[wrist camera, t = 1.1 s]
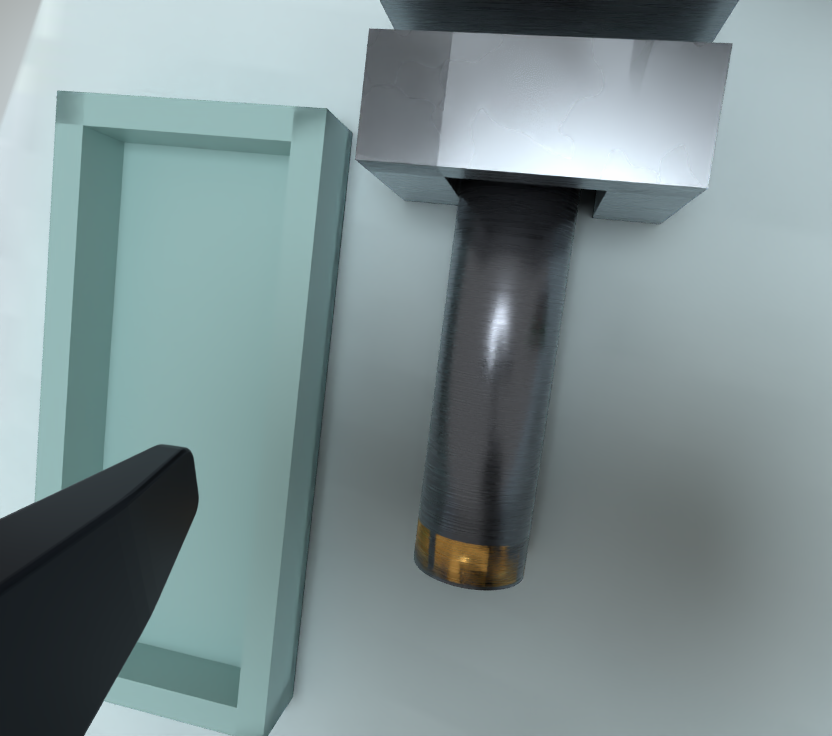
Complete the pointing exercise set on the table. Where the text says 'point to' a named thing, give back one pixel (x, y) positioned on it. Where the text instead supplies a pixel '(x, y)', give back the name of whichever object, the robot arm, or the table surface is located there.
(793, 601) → the table surface
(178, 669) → the tray
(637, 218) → the clevis
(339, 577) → the table surface
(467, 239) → the dark grey cylinder
